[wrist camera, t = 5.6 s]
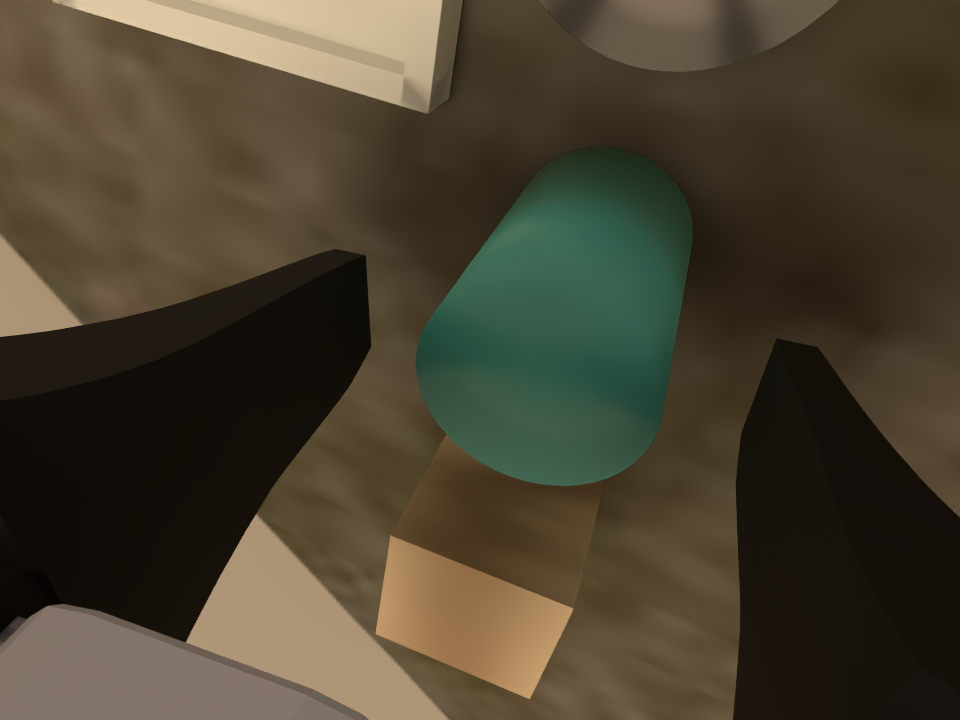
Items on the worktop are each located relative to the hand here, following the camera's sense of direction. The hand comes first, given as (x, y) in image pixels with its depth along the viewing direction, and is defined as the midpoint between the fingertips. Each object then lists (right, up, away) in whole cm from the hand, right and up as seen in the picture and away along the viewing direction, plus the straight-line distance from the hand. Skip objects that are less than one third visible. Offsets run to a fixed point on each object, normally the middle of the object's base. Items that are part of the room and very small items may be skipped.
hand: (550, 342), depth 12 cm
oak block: (0, -3, +8) cm, 8 cm away
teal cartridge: (+2, +3, +3) cm, 5 cm away
